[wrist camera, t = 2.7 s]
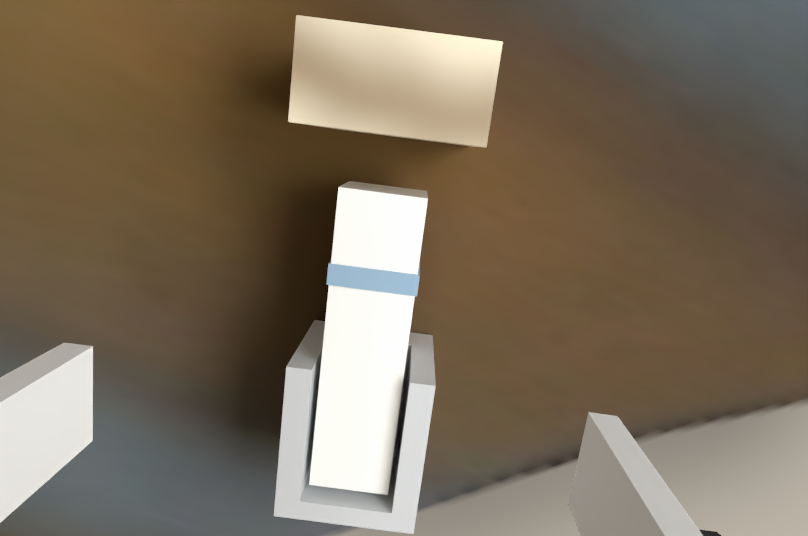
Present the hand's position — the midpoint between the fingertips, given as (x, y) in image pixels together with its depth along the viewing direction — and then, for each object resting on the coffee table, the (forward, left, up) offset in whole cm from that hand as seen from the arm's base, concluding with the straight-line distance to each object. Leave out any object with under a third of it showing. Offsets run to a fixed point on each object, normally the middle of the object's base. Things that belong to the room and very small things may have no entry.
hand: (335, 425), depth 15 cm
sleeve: (+7, 0, -18) cm, 19 cm away
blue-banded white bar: (+2, 0, -16) cm, 16 cm away
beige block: (-10, 0, -18) cm, 20 cm away
